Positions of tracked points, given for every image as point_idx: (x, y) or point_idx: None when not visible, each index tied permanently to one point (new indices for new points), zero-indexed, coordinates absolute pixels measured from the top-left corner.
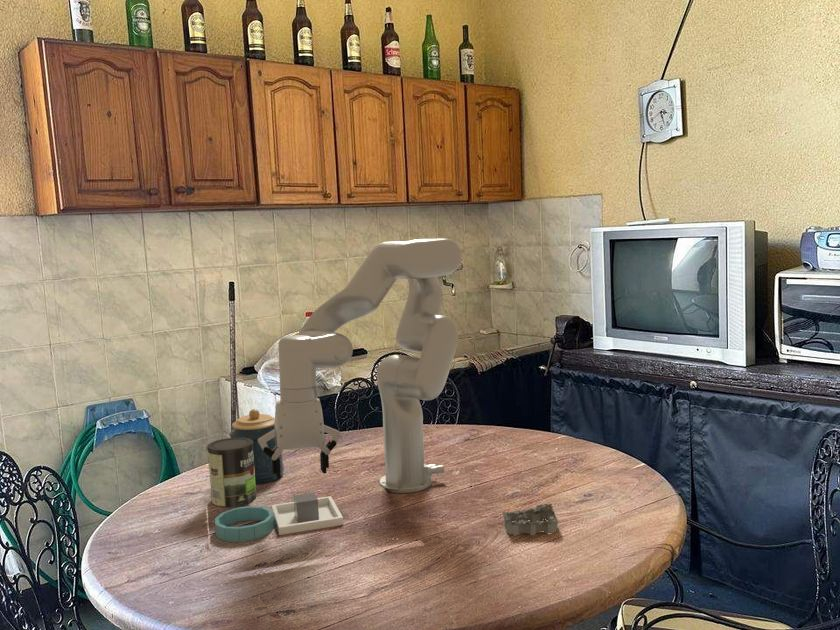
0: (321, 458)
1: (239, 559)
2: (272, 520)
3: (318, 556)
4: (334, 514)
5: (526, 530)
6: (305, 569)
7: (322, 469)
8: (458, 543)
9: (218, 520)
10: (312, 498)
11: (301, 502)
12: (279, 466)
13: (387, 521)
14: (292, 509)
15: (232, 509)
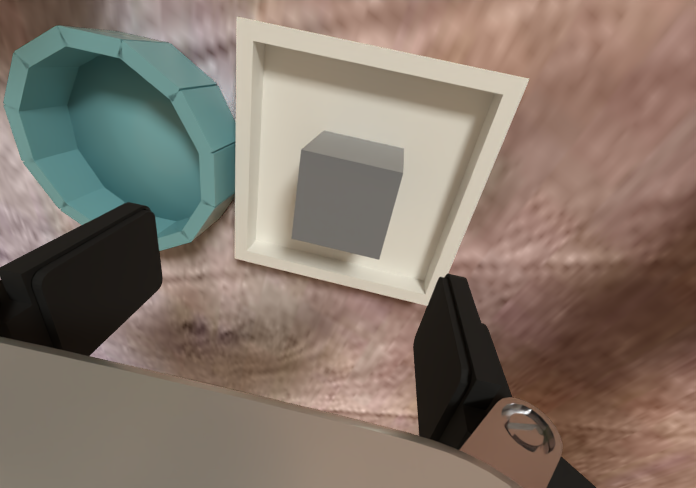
0: (434, 386)
1: None
2: (218, 207)
3: (311, 364)
4: (447, 221)
5: None
6: (273, 387)
7: (418, 345)
8: (585, 473)
9: (23, 133)
10: (364, 236)
11: (311, 242)
12: (104, 334)
13: (565, 320)
14: (333, 58)
15: (50, 37)
